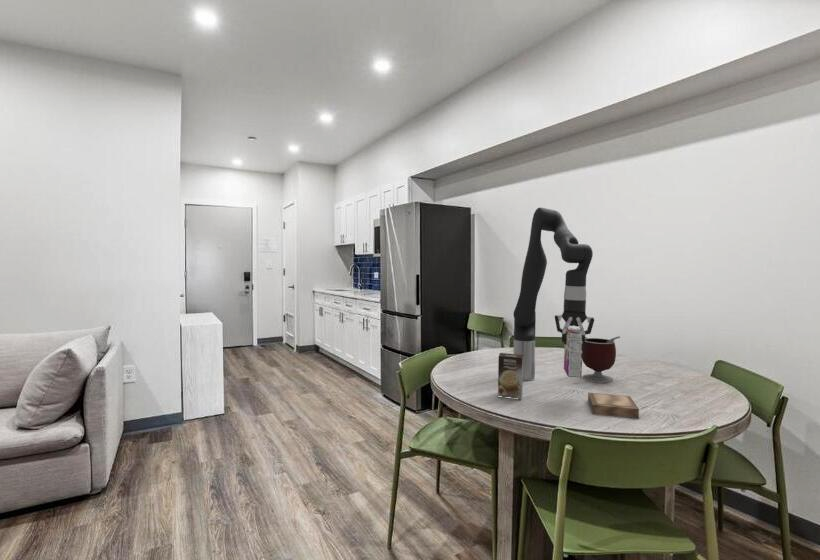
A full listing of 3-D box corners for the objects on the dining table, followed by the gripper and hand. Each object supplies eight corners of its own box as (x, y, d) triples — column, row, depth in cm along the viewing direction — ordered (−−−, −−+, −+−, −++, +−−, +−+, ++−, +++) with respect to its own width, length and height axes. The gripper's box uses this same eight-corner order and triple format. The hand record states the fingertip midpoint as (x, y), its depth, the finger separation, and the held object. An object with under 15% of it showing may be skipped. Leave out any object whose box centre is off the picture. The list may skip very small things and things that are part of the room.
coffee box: (497, 397, 156) (497, 355, 156) (499, 392, 162) (499, 352, 162) (522, 400, 153) (522, 357, 153) (523, 395, 160) (523, 354, 159)
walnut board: (592, 413, 140) (592, 404, 140) (588, 400, 153) (588, 392, 153) (638, 418, 136) (638, 408, 136) (629, 404, 149) (630, 395, 149)
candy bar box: (562, 369, 158) (564, 326, 158) (576, 370, 157) (578, 327, 156) (566, 377, 147) (568, 331, 147) (581, 378, 146) (583, 332, 146)
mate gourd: (576, 379, 181) (577, 334, 180) (586, 373, 192) (587, 330, 191) (614, 386, 171) (615, 338, 170) (623, 379, 182) (624, 334, 181)
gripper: (554, 298, 150) (552, 344, 151) (597, 300, 145) (595, 348, 146) (554, 296, 157) (552, 340, 158) (595, 298, 152) (593, 344, 153)
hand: (573, 344), depth 152 cm, fingers closed on candy bar box, 5 cm apart
